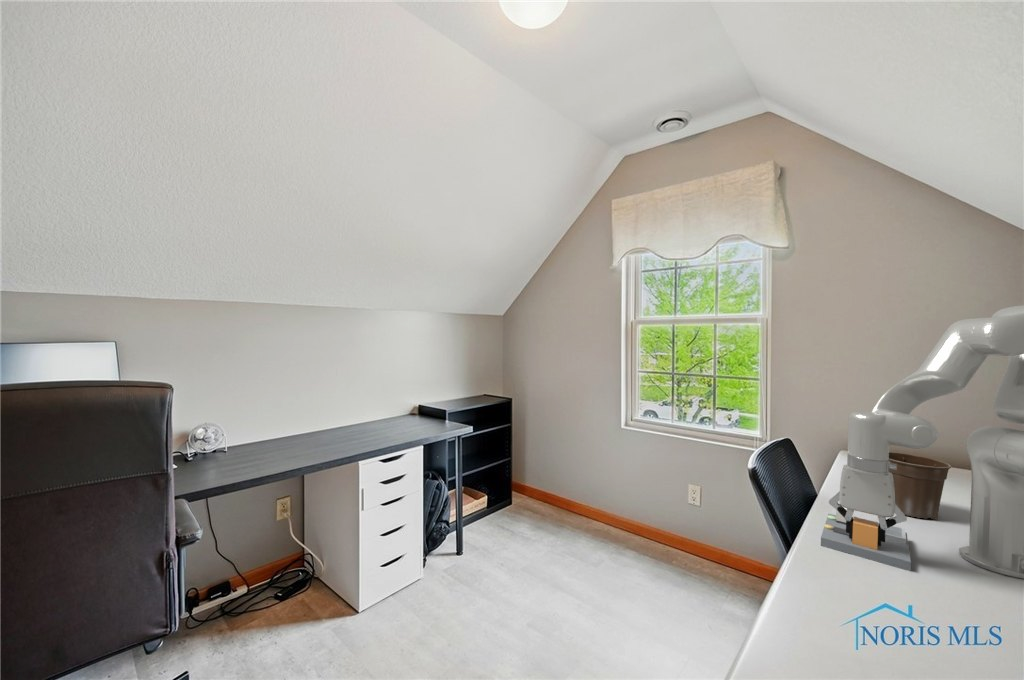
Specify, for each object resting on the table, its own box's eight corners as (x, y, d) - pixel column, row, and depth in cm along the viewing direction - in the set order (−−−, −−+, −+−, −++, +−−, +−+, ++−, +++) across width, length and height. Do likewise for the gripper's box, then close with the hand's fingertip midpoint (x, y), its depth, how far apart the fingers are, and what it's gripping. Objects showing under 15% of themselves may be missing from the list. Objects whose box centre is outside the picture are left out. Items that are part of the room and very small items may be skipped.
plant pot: (939, 509, 128) (941, 457, 128) (957, 529, 115) (959, 470, 115) (870, 497, 137) (872, 448, 137) (879, 513, 124) (881, 459, 124)
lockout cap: (877, 549, 97) (877, 528, 97) (852, 543, 100) (852, 522, 100) (877, 543, 100) (878, 522, 100) (853, 536, 103) (853, 516, 103)
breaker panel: (910, 571, 92) (911, 556, 92) (820, 545, 102) (821, 532, 102) (906, 540, 107) (906, 527, 107) (828, 520, 117) (828, 509, 117)
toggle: (850, 523, 110) (850, 509, 110) (835, 520, 112) (836, 506, 112) (850, 520, 112) (851, 506, 112) (836, 517, 114) (837, 503, 114)
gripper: (915, 469, 97) (912, 547, 97) (825, 454, 108) (822, 524, 109) (917, 476, 92) (914, 559, 92) (822, 459, 103) (819, 533, 103)
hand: (865, 539), depth 100 cm, fingers closed on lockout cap, 4 cm apart
